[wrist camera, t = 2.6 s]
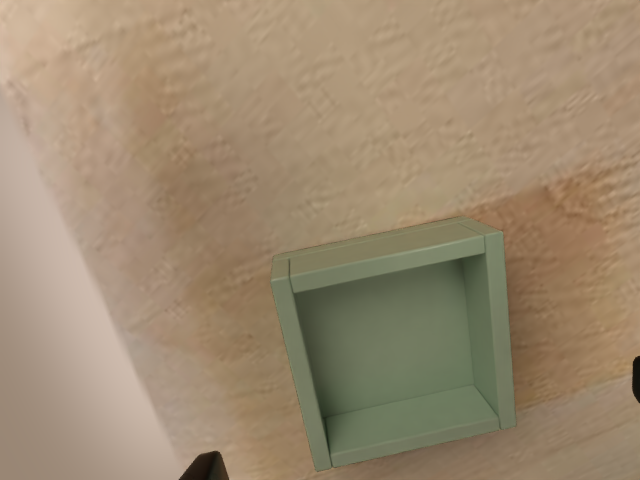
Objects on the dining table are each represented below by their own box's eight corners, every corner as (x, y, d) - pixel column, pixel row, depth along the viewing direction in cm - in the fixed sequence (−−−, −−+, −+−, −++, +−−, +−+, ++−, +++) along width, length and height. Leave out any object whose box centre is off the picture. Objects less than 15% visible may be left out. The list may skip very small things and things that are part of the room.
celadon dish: (310, 419, 13) (315, 473, 11) (272, 254, 12) (269, 280, 10) (480, 381, 13) (517, 427, 11) (464, 214, 12) (503, 230, 10)
